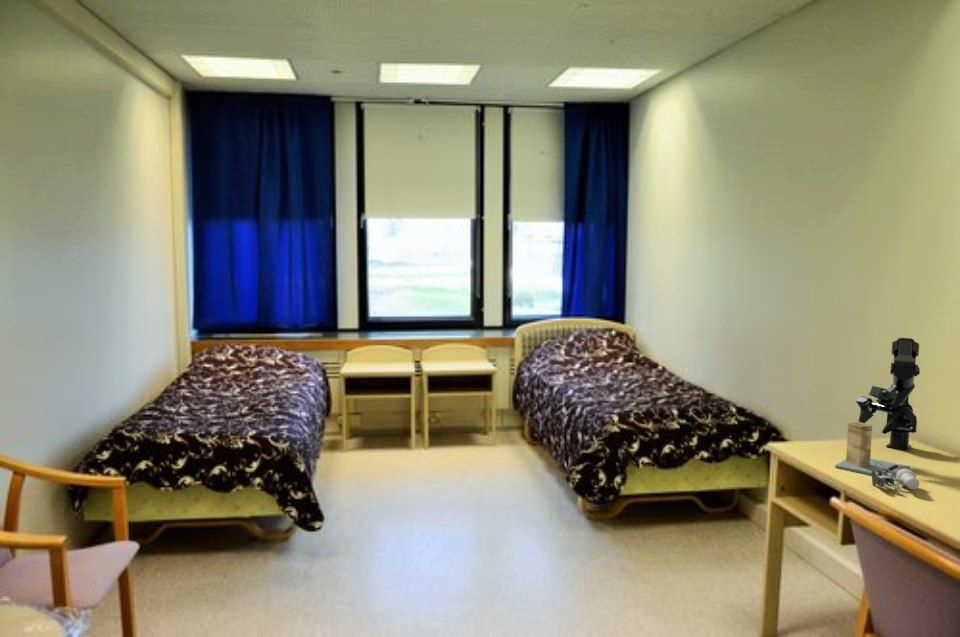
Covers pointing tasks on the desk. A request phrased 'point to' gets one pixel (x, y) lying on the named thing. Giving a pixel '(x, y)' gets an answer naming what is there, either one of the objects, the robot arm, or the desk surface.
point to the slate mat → (872, 467)
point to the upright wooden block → (859, 444)
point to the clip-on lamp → (902, 476)
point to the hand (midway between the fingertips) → (870, 429)
